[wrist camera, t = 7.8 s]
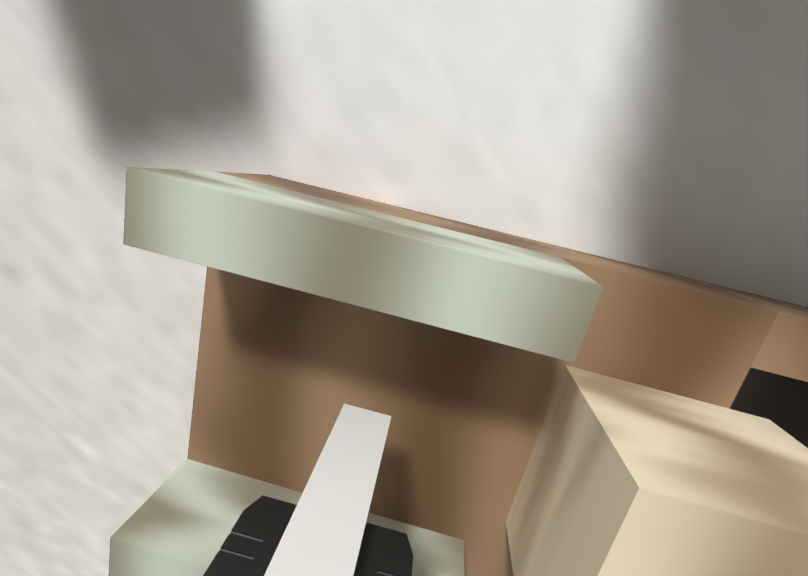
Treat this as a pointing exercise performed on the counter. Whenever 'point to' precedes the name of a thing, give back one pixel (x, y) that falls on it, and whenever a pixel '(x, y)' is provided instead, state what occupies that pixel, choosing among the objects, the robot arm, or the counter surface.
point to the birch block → (657, 488)
